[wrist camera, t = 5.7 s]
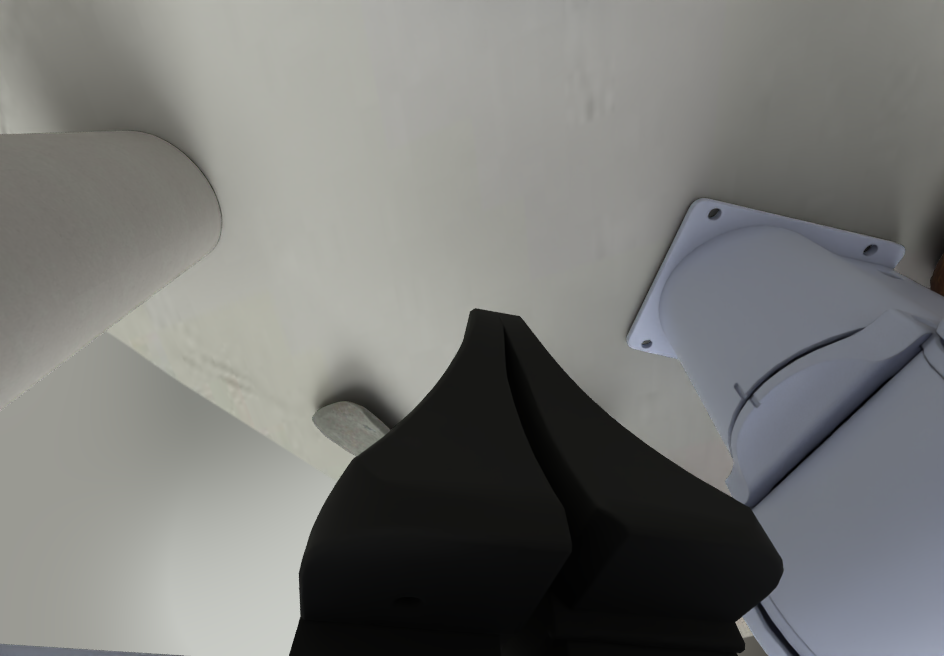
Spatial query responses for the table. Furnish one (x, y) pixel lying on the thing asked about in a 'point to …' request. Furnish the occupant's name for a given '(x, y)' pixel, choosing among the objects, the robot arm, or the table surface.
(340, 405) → the decorative stone
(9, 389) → the coffee cup
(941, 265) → the fruit
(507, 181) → the table surface
